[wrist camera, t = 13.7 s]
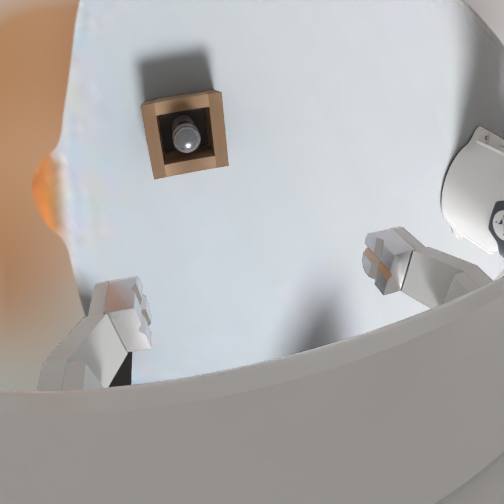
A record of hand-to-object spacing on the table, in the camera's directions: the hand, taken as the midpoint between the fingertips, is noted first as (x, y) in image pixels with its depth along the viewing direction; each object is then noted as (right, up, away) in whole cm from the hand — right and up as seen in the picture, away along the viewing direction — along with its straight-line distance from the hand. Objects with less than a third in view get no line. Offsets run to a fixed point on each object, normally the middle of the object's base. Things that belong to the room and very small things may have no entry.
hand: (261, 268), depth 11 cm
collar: (-6, +11, +15) cm, 20 cm away
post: (-6, +12, +15) cm, 20 cm away
